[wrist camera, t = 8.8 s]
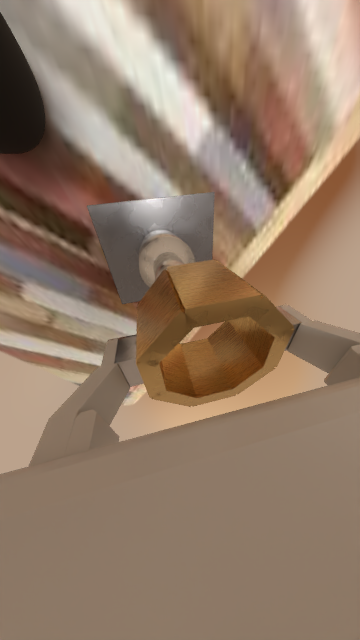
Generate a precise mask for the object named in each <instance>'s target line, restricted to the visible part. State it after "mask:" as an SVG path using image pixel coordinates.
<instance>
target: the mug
mask: <svg viewBox="0 0 360 640" xmlns="http://www.w3.org/2000/svg"><path fill="white" fill-rule="evenodd" d="M44 128H45V113H44V106H43V102H42V98H41V94H40V91H39V88H38V85H37V83H36V80H35V78H34V75H33V73H32V71H31V69H30V66H29V64H28V62H27V60H26V58H25V56H24V54H23V52H22V50H21V48H20V46H19V45H18V43H17V41H16V39H15V37H14V35H13V33H12V32H11V30H10V28H9V26H8V24H7V23H6V21H5V19H4V18H3V16H2V14H1V12H0V153H2V154H18V153H24V152H28V151H30V150H32V149H33V148H35V147H36V146H37V145H38V144H39V142H40V140H41V139H42V136H43V133H44Z"/></svg>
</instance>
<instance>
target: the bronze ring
mask: <svg viewBox="0 0 360 640" xmlns="http://www.w3.org/2000/svg"><path fill="white" fill-rule="evenodd" d="M224 321H225V322H224ZM219 322H224V323H223V324H222V325H221V326H220V327H219V328H218V329H217V330H216V331H215V332H214V333H213V334H211V335H210V336H209V337H208V338H207V339H202V340H198V341H193V342H188V343H183V344H180V343H179V342H180V341H181V340H182V339H183V338H184V337H185V336H186V335H187V334H188V333H189V332H190V331H191V330H192V329H193V328H194V327H199V326H204V325H209V324H214V323H219ZM293 331H294V326H293V325H292V324H291V323H290V322H289V321H288V320H287V318H286V317H285V316H284V315H283V314H282V313H281V312H280V311H279V310H278V309H277V308H276V307H275V306H274V305H273V304H272V303H271V302H270V301H269V300H268V298H267V297H265V296H264V295H263V294H262V293H260V292H259V291H258V290H257V289H255V288H254V287H253V286H251V285H250V284H248V283H247V282H246V281H244V280H243V279H242V278H240V277H239V276H238V275H236V274H235V273H233V272H232V271H231V270H229V269H228V268H227V267H225V266H224V265H223V264H221V263H220V262H218V261H217V260H208V261H201V262H195V263H188V264H182V265H175V266H169V267H167V270H166V269H165V268H164V269H163V271H162V272H161V274H160V275H159V276H158V278H157V279H156V280H155V282H154V283H153V284H152V286H151V287H150V288H149V290H148V291H147V293H146V294H145V295H144V297H143V298H142V299H141V301H140V302H139V303H138V307H137V340H136V365H137V367H138V370H139V372H140V375H141V377H142V380H143V382H144V385H145V387H146V389H147V392H148V394H149V397H151V398H152V399H155V400H160V401H165V402H170V403H175V404H179V405H184V406H189V407H190V406H197V405H201V404H204V403H208V402H212V401H216V400H220V399H223V398H228V397H231V396H235V395H236V394H239V393H240V392H242V391H243V390H245V389H246V388H248V387H249V386H251V385H252V384H253V383H255V382H256V381H258V380H259V379H260V378H262V377H264V376H265V375H266V374H268V373H269V372H271V371H272V370H273V369H275V368H274V367H277V365H278V363H279V361H280V359H281V357H282V355H283V352H284V350H285V348H286V346H287V344H288V342H289V340H290V338H291V335H292V333H293Z"/></svg>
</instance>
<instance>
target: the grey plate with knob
mask: <svg viewBox="0 0 360 640" xmlns="http://www.w3.org/2000/svg"><path fill="white" fill-rule="evenodd" d="M87 208H88V211H89V213H90V216H91V219H92V222H93V224H94V227H95V230H96V233H97V235H98V238H99V241H100V244H101V247H102V249H103V252H104V255H105V258H106V260H107V263H108V266H109V269H110V271H111V274H112V277H113V280H114V282H115V285H116V288H117V291H118V293H119V296H120V299H121V302H122V304H126V303H132V302H137V301H141V299H142V298H143V297H144V295H145V294H146V293H147V291H148V290H149V288H150V287H151V286H152V284H153V283H154V282H155V280H156V279H157V278H158V276H159V275H160V274H161V272H162V271H163V269H164V268H165V269H166V270H167V267H169V266H175V265H182V264H188V263H195V262H201V261H208V260H212V247H213V219H214V192H211V193H201V194H192V195H182V196H173V197H164V198H154V199H145V200H136V201H126V202H117V203H107V204H98V205H89V206H87Z"/></svg>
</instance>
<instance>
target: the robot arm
mask: <svg viewBox="0 0 360 640" xmlns="http://www.w3.org/2000/svg"><path fill="white" fill-rule="evenodd" d="M276 308H277V309H278V310H279V311H280V312H281V313H282V314H283V315H284V316H285V317H286V318H287V320H288V321H289V322H290V323H291V324H292V325H293V326H294V331H293V333H292V335H291V338H290V340H289V342H288V344H287V346H286V348H285V350H284V351H286V350H287V351H289V352H290V353H292V354H294V355H296V356H297V357H299V358H301V359H303V360H305V361H307V362H309V363H311V364H312V365H314V366H316V367H318V368H320V369H321V370H323V371H325V372H327V373H329V374H328V375H327V377H326V378H325V379H324V382H325V383H326V384H327V385H328V386H325V387H321V388H318V389H314V390H310V391H307V392H303V393H299V394H295V395H292V396H288V397H284V398H280V399H277V400H273V401H269V402H266V403H262V404H258V405H255V406H251V407H247V408H243V409H240V410H236V411H232V412H229V413H225V414H222V415H218V416H214V417H210V418H206V419H203V420H199V421H195V422H192V423H188V424H184V425H181V426H177V427H173V428H169V429H166V430H162V431H158V432H155V433H151V434H147V435H144V436H140V437H136V438H133V439H129V440H125V441H121V442H119V436H118V435H117V434H116V433H115V432H114V431H113V430H112V428H111V427H110V426H109V425H110V424H111V422H112V420H113V418H114V416H115V415H116V413H117V411H118V409H119V407H120V406H121V404H122V402H123V400H124V398H125V397H126V395H127V393H128V391H129V389H130V387H132V386H136V385H139V384H143V383H144V382H143V380H142V377H141V375H140V372H139V370H138V367H137V365H136V340H137V335H132V336H126V337H121V338H116V339H110V340H108V341H107V344H106V348H105V352H104V356H103V360H102V364H101V367H98V368H97V369H96V370H95V371H94V372H93V373H92V374H91V375H90V376H89V377H88V378H87V379H86V380H85V381H84V382H83V383H82V384H81V385H80V387H79V388H78V389H77V390H76V391H75V392H74V393H73V394H72V395H71V396H70V397H69V398H68V399H67V400H66V401H65V402H64V403H63V404H62V406H61V407H60V408H59V409H58V410H57V411H56V412H55V413H54V414H53V415H52V416H51V417H50V418H49V420H48V422H47V424H46V427H45V429H44V431H43V434H42V436H41V438H40V441H39V443H38V446H37V448H36V450H35V452H34V455H33V457H32V460H31V462H30V464H29V467H25V468H22V469H18V470H14V471H10V472H7V473H3V474H0V640H360V333H357V332H354V331H350V330H347V329H343V328H340V327H336V326H333V325H329V324H326V323H322V322H319V321H312V320H310V319H309V318H307V317H306V316H304V315H303V314H301V313H300V312H298V311H297V310H295V309H294V308H292V307H291V306H289V305H282V306H278V307H276Z"/></svg>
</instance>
